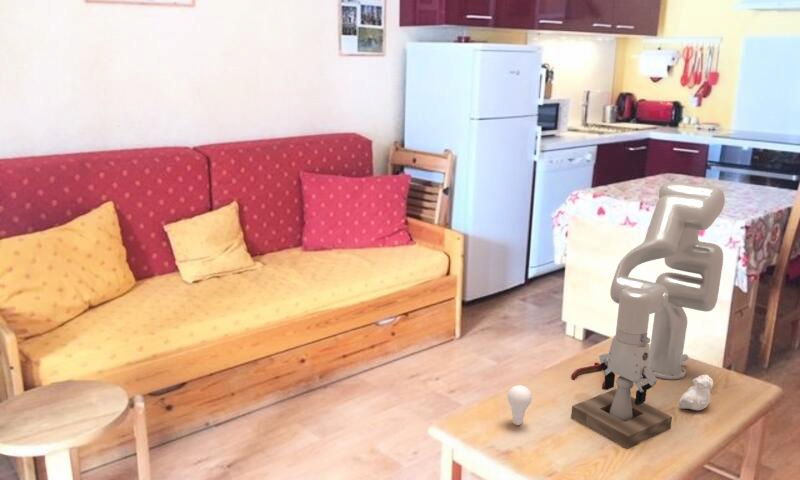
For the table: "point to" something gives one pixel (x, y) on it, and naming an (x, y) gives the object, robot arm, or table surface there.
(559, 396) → the table surface
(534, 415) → the table surface
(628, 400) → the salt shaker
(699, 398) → the bust
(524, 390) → the lightbulb
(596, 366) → the pliers
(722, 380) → the table surface
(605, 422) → the walnut stand
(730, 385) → the table surface
